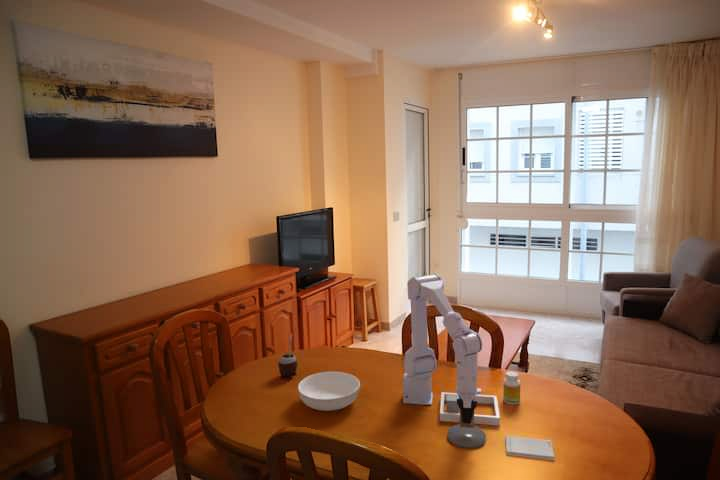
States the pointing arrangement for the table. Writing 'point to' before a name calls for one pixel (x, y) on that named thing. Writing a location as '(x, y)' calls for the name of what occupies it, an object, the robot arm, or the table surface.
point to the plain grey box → (452, 404)
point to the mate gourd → (288, 364)
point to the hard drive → (529, 448)
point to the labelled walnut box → (466, 423)
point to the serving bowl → (329, 390)
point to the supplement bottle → (511, 388)
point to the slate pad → (466, 436)
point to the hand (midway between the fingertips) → (466, 418)
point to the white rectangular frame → (477, 418)
